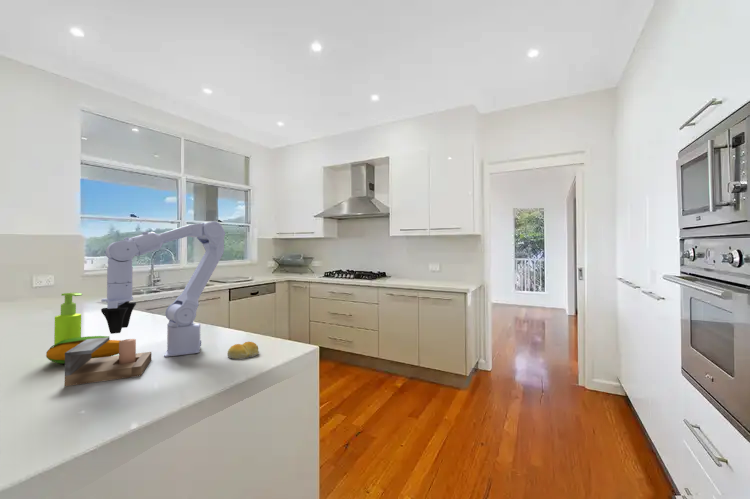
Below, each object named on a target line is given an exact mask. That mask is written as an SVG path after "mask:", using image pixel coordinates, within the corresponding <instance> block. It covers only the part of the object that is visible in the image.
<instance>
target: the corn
mask: <svg viewBox="0 0 750 499" xmlns="http://www.w3.org/2000/svg"><path fill="white" fill-rule="evenodd" d="M106 337H110V335H109V336H106V335H91V336H88V335H87V336H81V337H79V338H72V339H67V340H63V341H60V342H59V343H57V344H55V345H54V344H53V345H52V346H51V347H50V348H49V349H48V350H47V351H46V353H45V354H46V355H45V357H46V359H47V360H48V361H51V362H53V363H57V364H58V365H59V364H60V365H61V364H62V365H65V353H66V352H67V351H69V350H70V349H72V348H74V347H75V346H77V345H78V344H80V343H82V342H83V341H85V340H87V339H95V338H106ZM110 338H111V337H110ZM122 340H123V339H122ZM122 340H121V339H120V340H119V339H109V341H107V342H106V343H105V344H103V345H102V346H101V347H99V348H98V349H97V350H95V351H94V352H93V353H91V359H92V358H100V357H109V356H118V355H119V341H122Z"/></svg>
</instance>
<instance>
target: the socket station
mask: <svg viewBox="0 0 750 499" xmlns="http://www.w3.org/2000/svg"><path fill="white" fill-rule="evenodd" d="M110 339H111V337H106V338H95V339H87V340H85V341H83V342H82V343H80V344H78V345H77V346H75V347H74V348H72V349H70V350H69V351H67V352H66V353H65V364H64V386H63V387H70V386H78V385H85V384H92V383H99V382H107V381H113V380H120V379H127V378H135V377H142V375H143V373H145V372H144V371H145V370H146V369H147V367H148V366H149V365H150V363H151V362H152V351H147V352H146V351H145V352H137V353H136V362H133V363H125V364H119V354H117V355H113V356H109V357H100V358H92V359H91V353H93V352H94V351H95V350H97V349H98V348H99V347H101V346H102V345H103V344H105V343H106V342H107V341H109V340H110Z"/></svg>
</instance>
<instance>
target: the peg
mask: <svg viewBox="0 0 750 499" xmlns="http://www.w3.org/2000/svg"><path fill="white" fill-rule="evenodd" d="M136 348H137V339H136V338H128V339H122V341H119V354H118V355H119V364H125V363H133V362H136V352H137V349H136Z"/></svg>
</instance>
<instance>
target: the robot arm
mask: <svg viewBox="0 0 750 499" xmlns="http://www.w3.org/2000/svg"><path fill="white" fill-rule="evenodd" d="M225 236H226V231H225V230H224V227H223V225H222V224H221V223H220V222H218V221H217V220H209V221H208V222H200V223H199V222H198V223H193V224H192V223H191V224H188V225H186V224H185V225H183V226H180V227H178V228H174V229H172V230H168V231H165V232H161V233H156V232H154V231H147V230H145V231H142V232H141V234H138V235H136V236H132V237H129V236H126V237H123V240H122V239H121V240H119V241H113V242H111V243H109V245H107V247H106V249H105V251H104V253H105V256H106V258H108V259H107V267H106V269H107V270H106V298H101V300H100V301H101V302H102V303H103V302H105V303H107V307H102V308H101V309H100V311H101V313H102V314H103V317H104V318H105V320H106V323H107V326H108V329H109V333H110V334H112V335H113V334H114V335H115V334H121V332H122V329H124V328H128V327H129V323H130V320H131V316H132V313H133V311H134V308H135V307H136V305H137V302H136V301H133V300H134V297H133V258H134V257H140V256H142V255H146V254H149V253H152V252H155V251H158V250H160V249H161V248H162V246H163V244H166V243H170V242H173V241H176V240H179V239H183V238H187V237H190V238H196V239H197V240H198V241H199V242H200V243H201V244H202V246H203V247H204V250H205V252H204V254H203V256H202V257H201V259H200V261H199V263H198V265H197V266H196V268H195V270H194V272H193V273H192V275H191V277H190V278H189V279H188V282H187V284H186V286H185V288H184V289H183V290H182V292H181V293H180V295H178V296H177V297H176V298H175V299H174V302H172V303H171V304H169V305H168V306H167V308H166V309H165V313H164V314H165V318H166V319H167V320H168V323H167V327H166V328H167V333H166V334H167V336H166V337H167V342H166V344H167V345H166V351H165V353H164V355H163V357H164V358H167V357H168V358H169V357H174V356H177V357H178V356H183V355H191V354H199V353H200V351H201V347H202V340H201V323H194V322H195V319H196V316H197V310H198V308H199V298H200V297H201V295H202V293H203V292H204V289H205V288H206V286H207V284H208V282H209V280H210V279H211V277H212V275H213V273H214V272H215V269H216V268H217V265H218V264H219V262H220V260H221V259H222V257H223V254H224V253H225ZM132 301H133V302H132Z"/></svg>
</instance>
